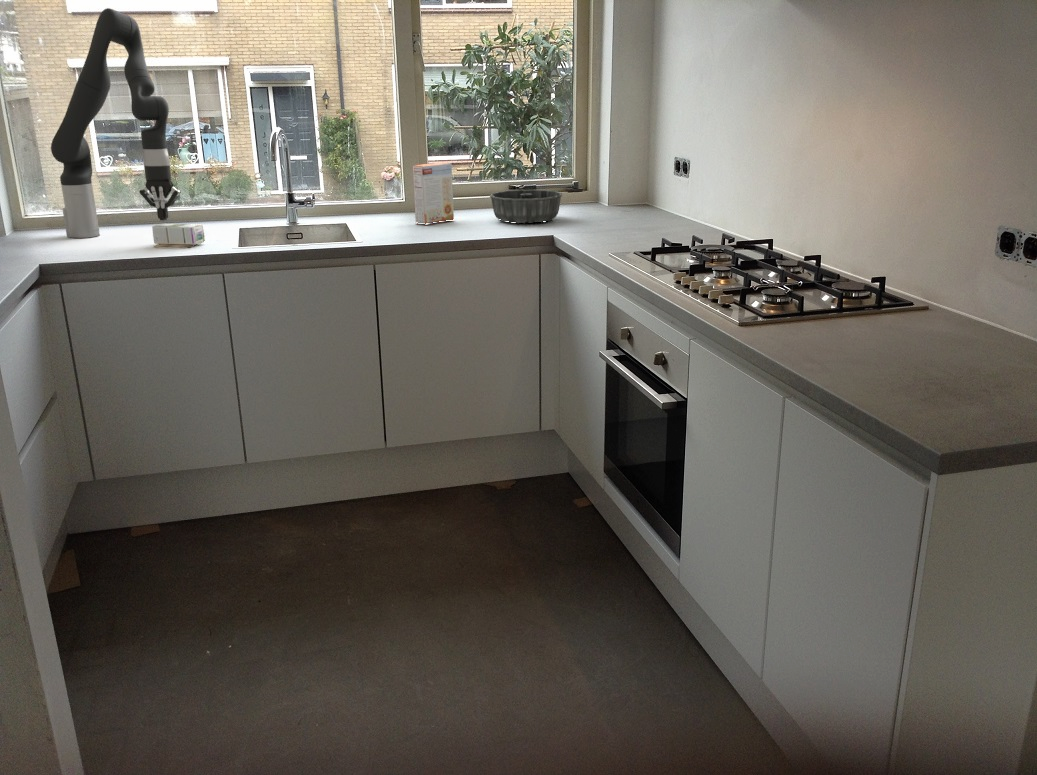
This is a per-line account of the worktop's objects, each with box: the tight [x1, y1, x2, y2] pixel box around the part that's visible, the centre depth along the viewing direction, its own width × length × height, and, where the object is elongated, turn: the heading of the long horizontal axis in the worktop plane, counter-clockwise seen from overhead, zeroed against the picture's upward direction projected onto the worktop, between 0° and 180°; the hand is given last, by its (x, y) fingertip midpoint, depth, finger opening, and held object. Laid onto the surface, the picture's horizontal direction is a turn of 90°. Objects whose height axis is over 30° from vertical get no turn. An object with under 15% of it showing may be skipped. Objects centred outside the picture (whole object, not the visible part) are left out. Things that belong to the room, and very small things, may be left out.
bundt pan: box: [489, 189, 563, 224], centre depth 329 cm, size 26×26×10 cm
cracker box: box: [412, 162, 455, 224], centre depth 324 cm, size 14×6×21 cm, turn 136°
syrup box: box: [151, 223, 206, 246], centre depth 285 cm, size 6×6×14 cm
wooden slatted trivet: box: [153, 244, 194, 248], centre depth 287 cm, size 12×12×1 cm
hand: (163, 220), depth 285 cm, fingers closed
